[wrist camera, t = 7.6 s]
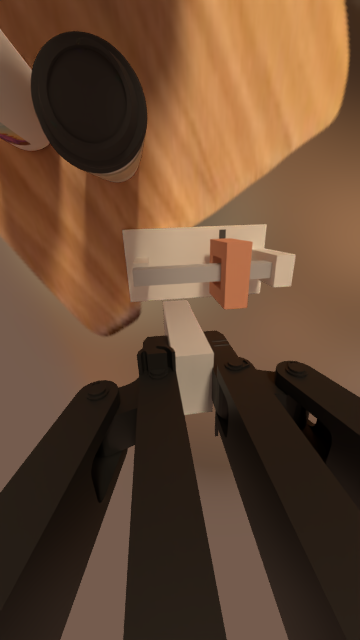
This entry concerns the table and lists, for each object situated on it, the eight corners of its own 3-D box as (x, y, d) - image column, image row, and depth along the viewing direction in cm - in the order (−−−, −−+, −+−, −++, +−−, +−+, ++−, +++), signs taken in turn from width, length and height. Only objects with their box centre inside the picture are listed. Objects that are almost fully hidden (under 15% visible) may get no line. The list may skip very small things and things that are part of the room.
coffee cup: (131, 204, 34) (118, 190, 20) (67, 167, 31) (2, 121, 17) (159, 138, 31) (167, 69, 17) (93, 92, 29) (41, -31, 15)
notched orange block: (210, 239, 34) (227, 242, 26) (230, 238, 34) (252, 241, 27) (209, 292, 37) (224, 309, 29) (227, 291, 37) (247, 307, 30)
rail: (122, 229, 35) (113, 231, 25) (264, 224, 37) (302, 224, 28) (131, 300, 39) (125, 323, 30) (257, 291, 41) (289, 311, 32)
